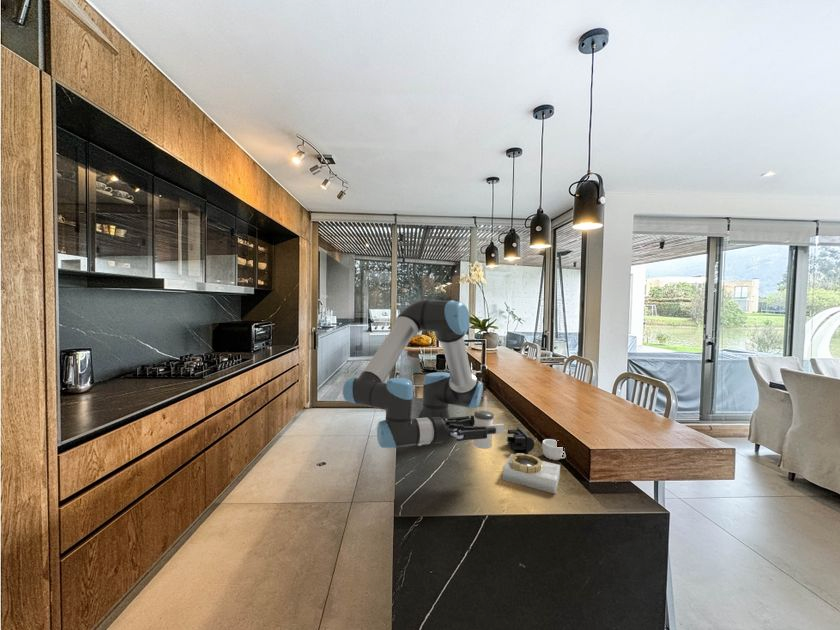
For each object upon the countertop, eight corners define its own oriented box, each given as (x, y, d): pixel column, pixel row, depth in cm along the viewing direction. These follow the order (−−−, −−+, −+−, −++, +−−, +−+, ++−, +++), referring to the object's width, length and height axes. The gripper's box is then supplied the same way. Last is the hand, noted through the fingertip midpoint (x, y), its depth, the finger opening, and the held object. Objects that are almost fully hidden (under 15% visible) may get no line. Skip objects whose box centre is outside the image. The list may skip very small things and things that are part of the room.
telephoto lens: (470, 446, 113) (471, 414, 112) (476, 439, 118) (477, 409, 118) (489, 450, 110) (490, 418, 110) (494, 443, 116) (495, 412, 115)
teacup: (537, 454, 136) (538, 440, 136) (553, 451, 139) (554, 438, 139) (556, 466, 127) (557, 451, 127) (573, 463, 130) (574, 448, 130)
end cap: (533, 454, 136) (535, 436, 136) (515, 454, 135) (516, 436, 135) (523, 443, 146) (524, 427, 146) (506, 443, 145) (507, 427, 145)
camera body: (502, 479, 116) (503, 462, 115) (510, 464, 126) (511, 449, 126) (555, 493, 109) (556, 476, 108) (559, 476, 119) (560, 460, 119)
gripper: (419, 431, 117) (483, 426, 125) (440, 456, 100) (513, 448, 107) (420, 408, 117) (484, 404, 124) (441, 429, 99) (515, 423, 107)
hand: (497, 424), depth 116 cm, fingers closed on telephoto lens, 6 cm apart
